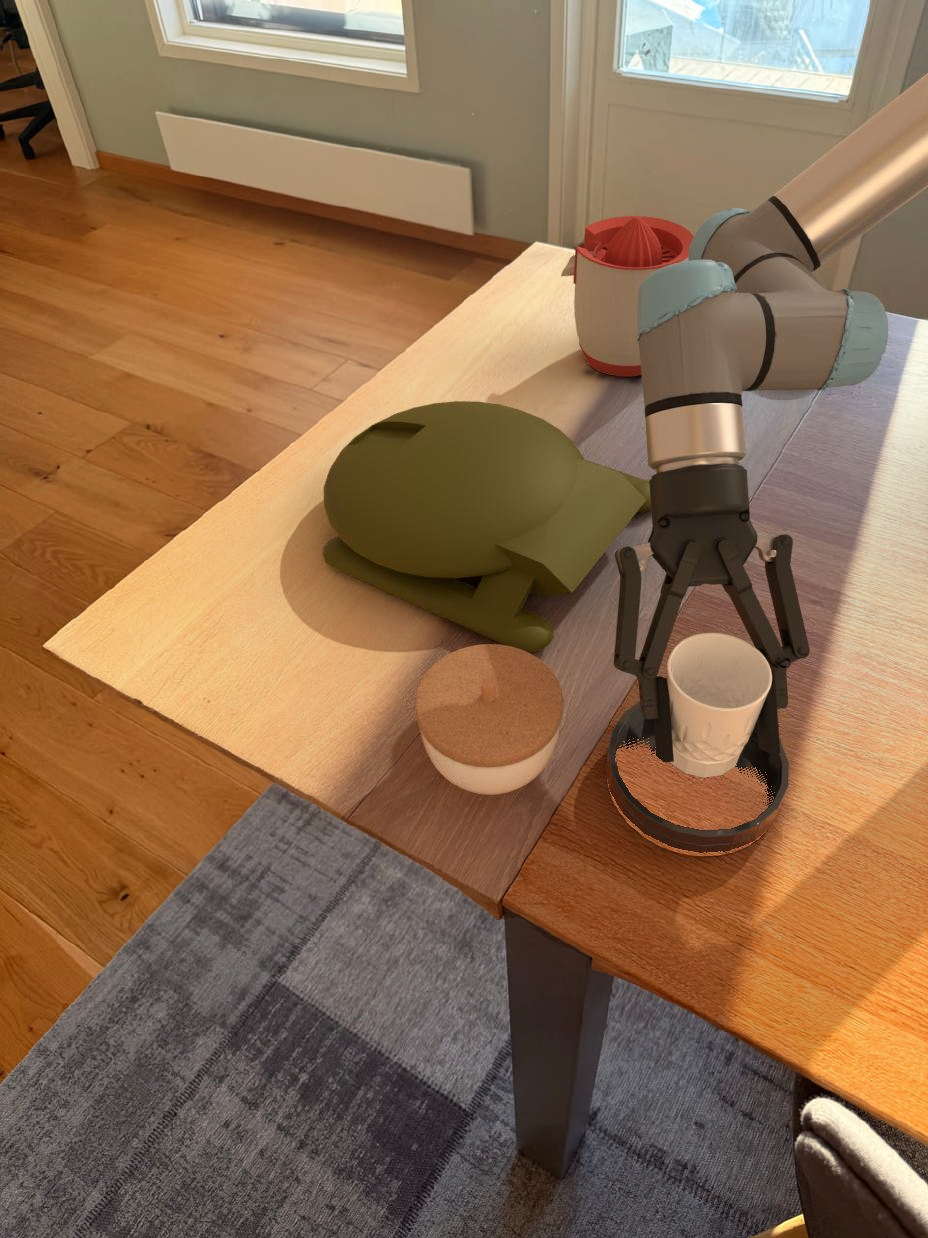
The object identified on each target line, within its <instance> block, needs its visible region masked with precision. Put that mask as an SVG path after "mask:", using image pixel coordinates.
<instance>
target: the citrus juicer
mask: <svg viewBox="0 0 928 1238" xmlns="http://www.w3.org/2000/svg"><path fill="white" fill-rule="evenodd" d="M693 237H694V234H693V233H692V232H691V231H690V230H688V229H687V228H686V227H685V226H683V225H680V224H678V223H677V222H674V221H670V220H668V219H663V218H659V217H653V216H645V215H644V216H643V215H642V216H641V215H627V216H626V215H624V216H616V217H610V218H606V219H605V218H604V219H601V220H598V221H596V222H592V223H590V224H589V225H587V226H585V227H584V238H583V239H584V240H583V247H581V246H578V245H575V246H574V247H575V249H574V254H573V255H571V256H570V258H569V259H568V262H567V263H566V265H565V267H564V268H563V269H562V271H561V273H560V277H573V285H574V299H573V307H574V309H573V311H574V314H573V315H574V322H575V328H576V335H577V338H578V345H579V347H580V351H581V353H582V355H583V357H584V360H585V361H586V363H587V364H588V365H589V366H590V367H591V368H593V369H594V370H596V371H598V372H601V373H603V374H607V375H611V376H615V377H637V376H642V373H641V362H640V351H639V341H637V334H638V327H637V306H638V290H639V288H640V286H641V284H642V282H643V281H644V280H645V279H646V278H648V276H649V275H650V274H652V273H653V272H655V271H657V270H659V269H661V268H663V267H666V266H669V265H672V264H675V263H679V262H684V261H688V254H689V248H690V244H691V242H692V239H693Z"/></svg>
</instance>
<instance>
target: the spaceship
mask: <svg viewBox="0 0 928 1238" xmlns="http://www.w3.org/2000/svg"><path fill="white" fill-rule="evenodd" d="M323 506H324V507H323V508H324V510H325V513H326V517H327V520H328V522H329V525H330V526H331V528H332V529H333V530H334V532H335V533H336V535H337V536H335V537H333V538H331V539H330V540H328V541H327V542H326V544H325V545H324V547H322V548H323V549H322V558H323V560H324V562H325V563H326V564H327V565H328V566H329V567H331V568H333V569H335V570H337V571H339V572H342V573H344V574H346V575H348V576H350V577H353V578H355V579H357V580H359V581H362V582H364V583H366V584H368V585H369V586H372V587H375V588H377V589H379V590H381V591H383V592H386V593H387V594H389V595H393V596H394V597H397V598H399V599H401V600H403V601H405V602H407V603H410V604H412V605H414V606H417V607H419V608H421V609H423V610H425V611H428V612H430V613H432V614H434V615H436V616H438V617H440V618H443V619H445V620H447V621H450V622H452V623H454V624H456V625H458V626H460V627H462V628H464V629H467V630H469V631H471V632H474V633H476V634H478V635H480V636H483V637H485V638H487V639H488V640H491V641H494V642H495V643H498V644H500V645H506V646H511V647H515V648H518V649H522V650H524V651H526V652H528V653H530V654H532V653H536V652H539V651H542V650H544V649H546V648H547V647H548V646H549V645H550V644H551V642H552V640H553V638H554V633H553V626H552V624H551V623H550V621H549V619H546V618H545V617H544V616H542V615H541V614H538V613H536V612H534V611H532V610H529V609H527V608H525V607H524V605H525V603H526V601H527V599H528V597H529V595H530V594H534V595H537V596H539V597H541V598H544V597H551V596H558V595H566V594H572V593H574V592H575V590H576V589H577V587H578V586H579V585H580V584H581V582H582V581H583V580H584V579H585V578H586V576H587V575H588V574H589V573H590V571H591V570H592V569H593V567H594V566H595V565H596V564H597V563H598V561H599V560H600V559H601V558H602V556H603V555H604V554H605V553H606V551H607V550H608V548H610V546H611V545H612V544H613V542H614V541H615V540H616V539H617V538H618V536H619V535H620V534H621V532H622V531H623V530H624V529H625V527H627V525H628V524H629V522H630V521H631V520H632V519H633V517H634V516H635V515H636V514H637V513H640V512H642V513H644V512H649V511H651V500H650V486H649V480H646V479H643V478H641V477H638V476H634V475H631V474H628V473H625V472H623V471H620V470H618V469H617V470H616V469H615V468H612V467H608V466H605V465H602V464H599V463H597V462H593V461H591V460H587V459H585V457H584V456H583V454H582V453H581V451H580V450H579V448H578V447H577V446H576V444H575V442H574V441H573V440H572V439H571V438H570V437H569V436H567V435H566V434H565V433H564V432H563V431H562V430H561V429H560V428H559V427H556V426H555V425H553V424H551V422H548V421H547V420H545V419H544V418H542V417H539V416H536V415H535V414H532V413H529V412H526V411H524V410H521V409H519V408H515V407H511V406H507V405H503V404H499V403H494V402H493V403H492V402H486V401H485V402H484V401H477V400H476V401H475V400H474V401H473V400H471V401H470V400H468V401H467V400H466V401H465V400H463V401H462V400H454V401H445V402H435V403H430V404H424V405H420V406H415V407H411V408H409V409H405V410H402V411H400V412H397V413H394V414H391V415H390V416H388V417H386V418H384V419H381V420H380V421H377V422H375V423H373V424H372V425H370V426H369V427H367V428H365V430H363V431H362V432H360V433H358V434H357V435H356V436H354V437H353V438H352V439H351V440H350V442H348V443H347V444H346V445H345V446H344V447H343V448H342V449H341V450H340V452H339V454H338V455H337V457H336V458H335V460H334V462H333V463H332V465H331V466H330V468H329V470H328V473H327V476H326V479H325V483H324V485H323ZM480 576H481V580H480V581H479V583H478V585H477V586H473V585H471V584H469V583H467V582H464V581H462V580H460V579H461V578H463V579H464V578H470V577H480Z"/></svg>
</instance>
